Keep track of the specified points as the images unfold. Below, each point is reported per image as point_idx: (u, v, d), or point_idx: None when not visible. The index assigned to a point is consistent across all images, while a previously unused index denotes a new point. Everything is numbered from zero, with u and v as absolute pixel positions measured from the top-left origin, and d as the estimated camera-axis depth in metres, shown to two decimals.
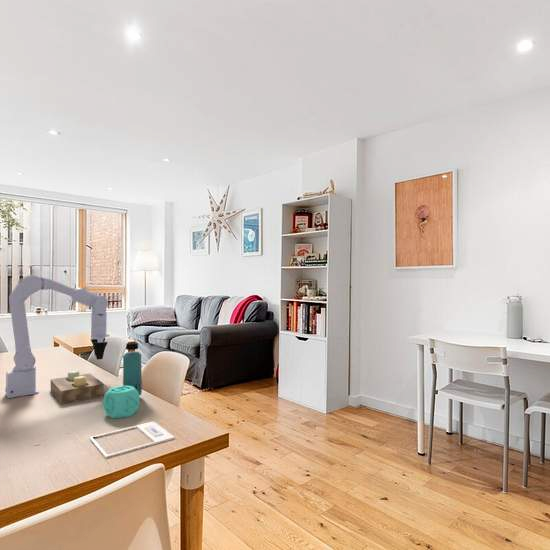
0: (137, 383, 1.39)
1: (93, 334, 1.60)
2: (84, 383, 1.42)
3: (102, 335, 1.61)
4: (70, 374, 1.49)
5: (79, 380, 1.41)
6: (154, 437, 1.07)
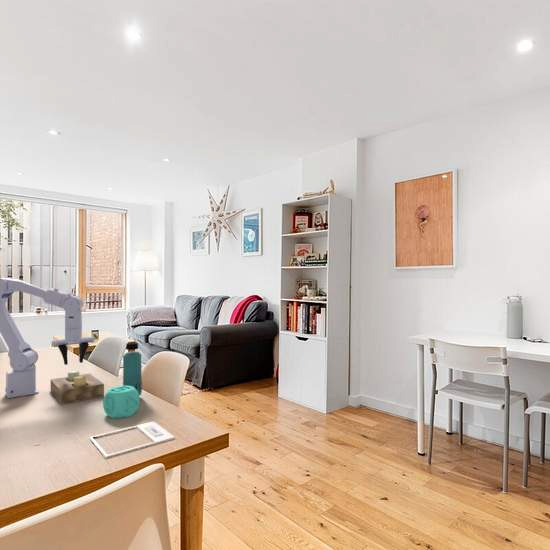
0: (137, 383, 1.39)
1: None
2: (84, 383, 1.42)
3: (66, 339, 1.48)
4: (70, 374, 1.49)
5: (79, 380, 1.41)
6: (154, 437, 1.07)
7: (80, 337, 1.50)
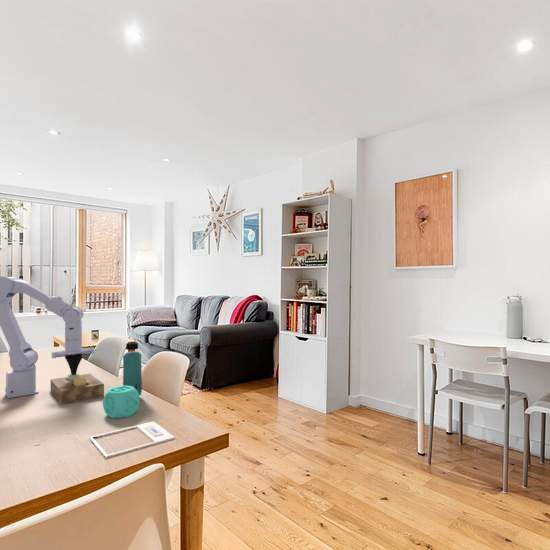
0: (137, 383, 1.39)
1: None
2: (84, 383, 1.42)
3: (66, 351, 1.48)
4: (70, 376, 1.49)
5: (79, 380, 1.41)
6: (154, 437, 1.07)
7: (80, 348, 1.50)
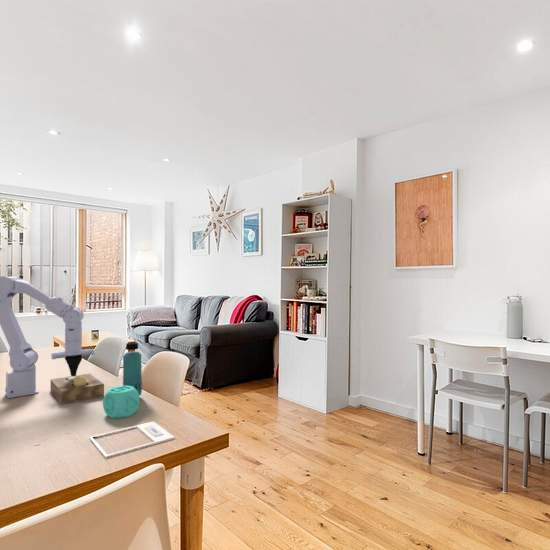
0: (137, 383, 1.39)
1: None
2: (84, 383, 1.42)
3: (66, 352, 1.48)
4: (70, 380, 1.49)
5: (79, 380, 1.41)
6: (154, 437, 1.07)
7: (80, 349, 1.50)
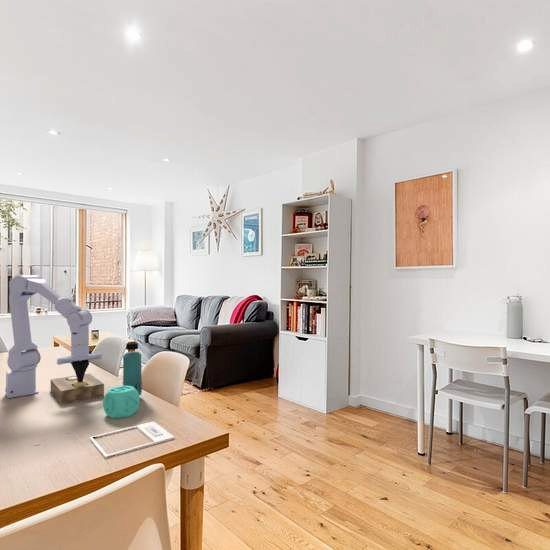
0: (137, 383, 1.39)
1: None
2: None
3: (72, 357, 1.40)
4: (70, 380, 1.49)
5: (79, 384, 1.41)
6: (154, 437, 1.07)
7: (87, 354, 1.43)
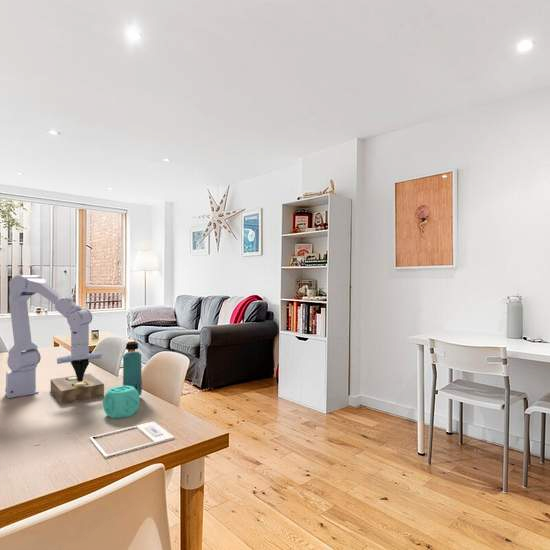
0: (137, 383, 1.39)
1: None
2: None
3: (72, 356, 1.40)
4: (70, 380, 1.49)
5: None
6: (154, 437, 1.07)
7: (87, 353, 1.43)
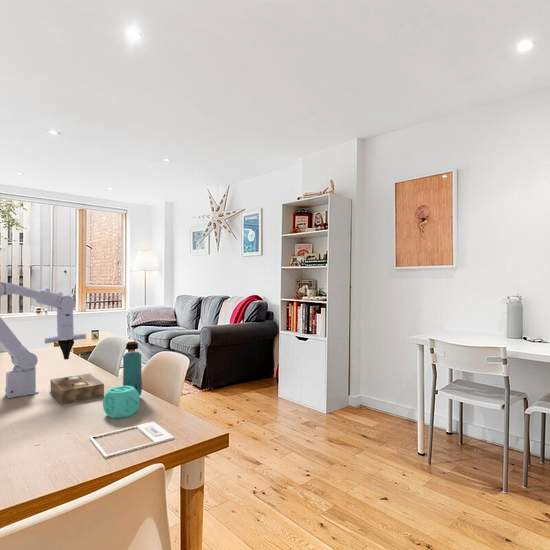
0: (137, 383, 1.39)
1: None
2: None
3: (58, 336, 1.55)
4: (70, 380, 1.49)
5: None
6: (154, 437, 1.07)
7: (72, 334, 1.58)
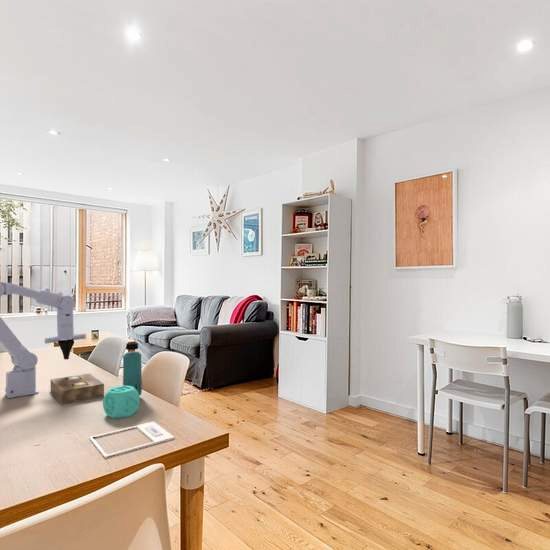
0: (137, 383, 1.39)
1: None
2: None
3: (58, 336, 1.55)
4: (70, 380, 1.49)
5: None
6: (154, 437, 1.07)
7: (72, 334, 1.58)
